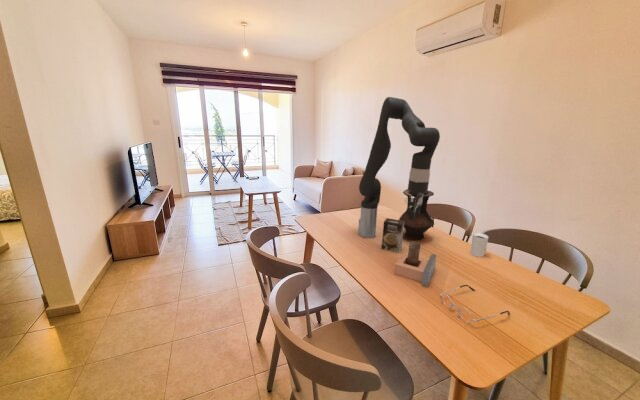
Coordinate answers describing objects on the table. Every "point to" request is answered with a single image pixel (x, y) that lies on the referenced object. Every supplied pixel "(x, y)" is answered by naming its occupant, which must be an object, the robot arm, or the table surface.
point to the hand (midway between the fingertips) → (413, 217)
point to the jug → (417, 219)
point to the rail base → (429, 270)
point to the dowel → (413, 253)
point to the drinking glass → (479, 244)
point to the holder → (410, 268)
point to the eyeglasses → (465, 308)
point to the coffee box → (392, 235)
